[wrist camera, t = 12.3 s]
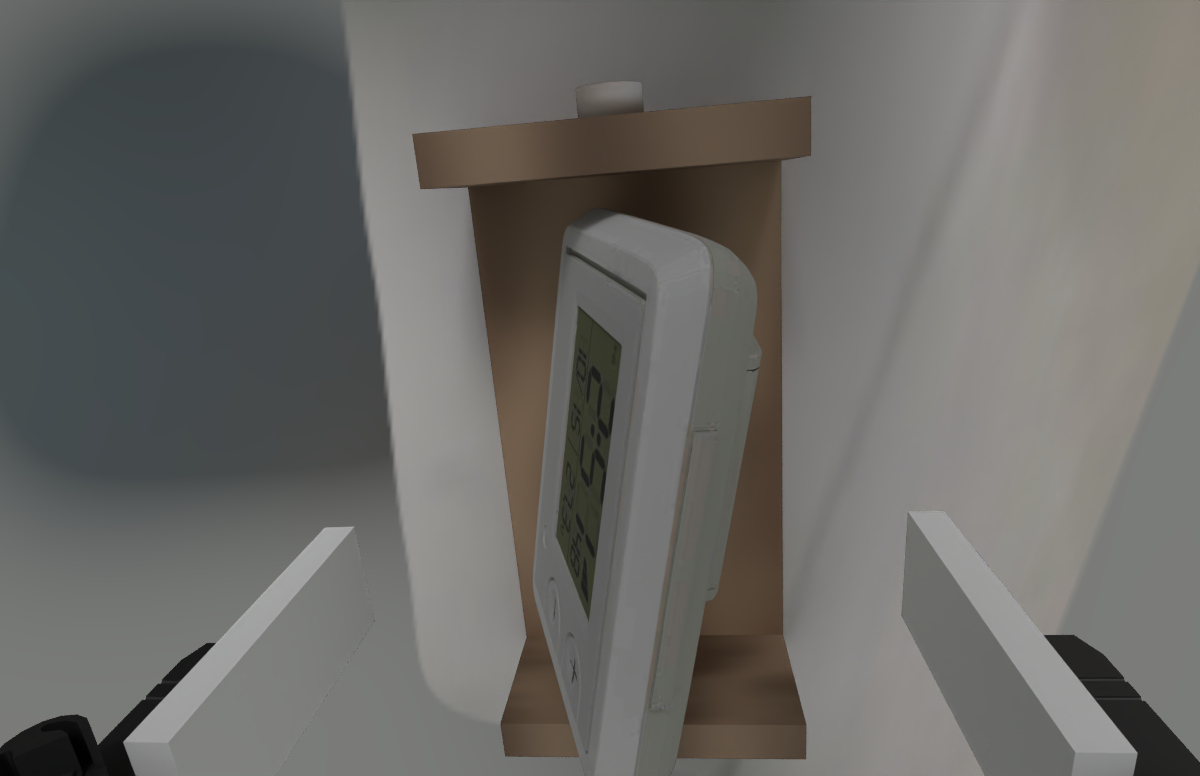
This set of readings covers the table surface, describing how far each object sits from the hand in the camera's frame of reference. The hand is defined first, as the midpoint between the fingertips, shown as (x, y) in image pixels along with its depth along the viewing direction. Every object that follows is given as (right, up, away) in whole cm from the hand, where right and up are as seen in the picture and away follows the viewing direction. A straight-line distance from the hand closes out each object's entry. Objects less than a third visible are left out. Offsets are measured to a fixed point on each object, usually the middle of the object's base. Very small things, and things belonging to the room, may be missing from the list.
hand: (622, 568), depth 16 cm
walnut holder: (+1, +3, +11) cm, 12 cm away
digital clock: (0, +3, +10) cm, 11 cm away
